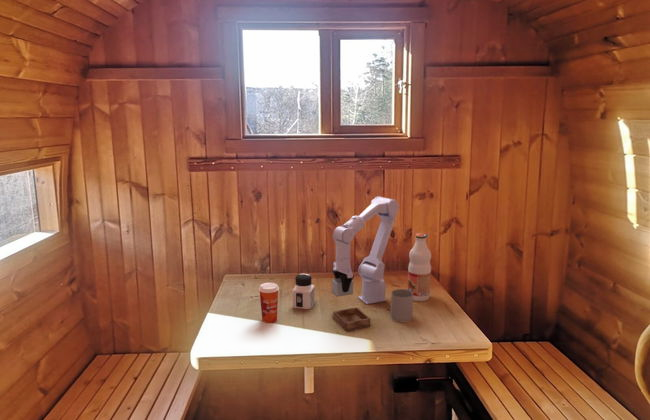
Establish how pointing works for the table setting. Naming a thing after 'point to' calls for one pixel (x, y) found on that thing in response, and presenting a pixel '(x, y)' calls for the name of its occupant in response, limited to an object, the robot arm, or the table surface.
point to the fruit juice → (419, 269)
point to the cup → (401, 305)
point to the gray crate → (340, 288)
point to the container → (303, 292)
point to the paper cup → (269, 301)
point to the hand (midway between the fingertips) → (342, 289)
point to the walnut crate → (351, 319)
